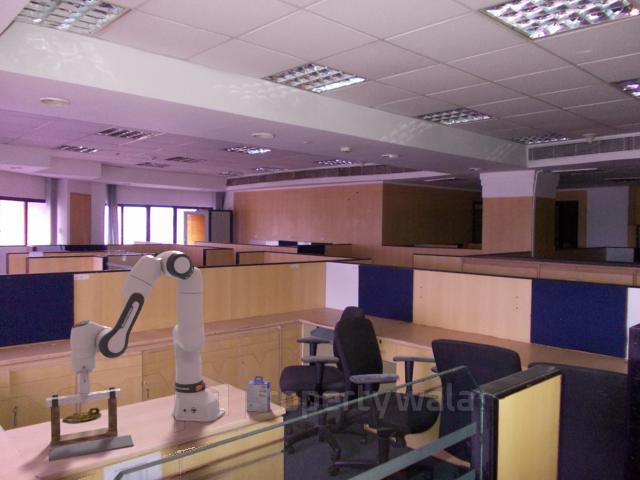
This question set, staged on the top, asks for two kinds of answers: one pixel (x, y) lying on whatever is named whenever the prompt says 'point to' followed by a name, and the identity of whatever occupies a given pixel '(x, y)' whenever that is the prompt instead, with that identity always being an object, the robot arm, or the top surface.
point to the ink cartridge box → (258, 395)
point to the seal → (83, 416)
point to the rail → (78, 398)
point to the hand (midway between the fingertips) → (84, 399)
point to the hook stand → (85, 435)
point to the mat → (90, 447)
